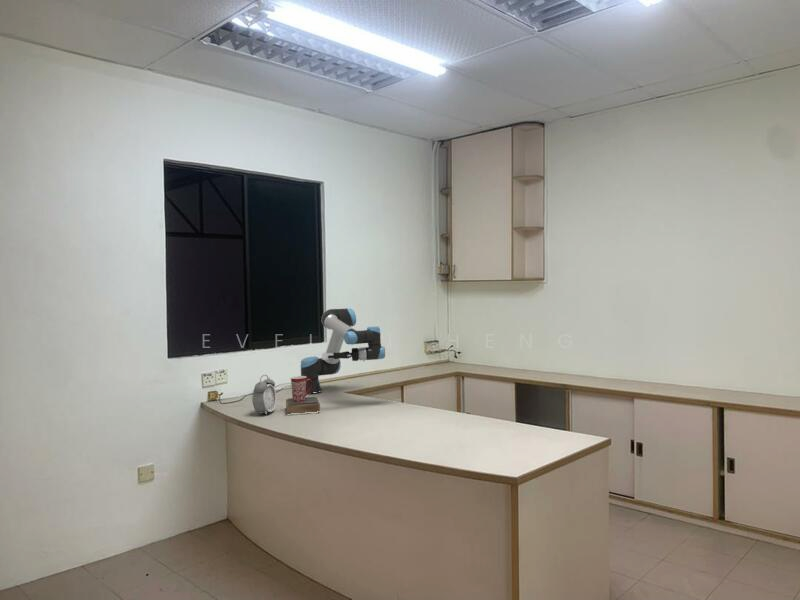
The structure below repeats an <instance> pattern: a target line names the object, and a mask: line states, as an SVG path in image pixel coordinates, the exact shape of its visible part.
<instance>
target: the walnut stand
mask: <svg viewBox="0 0 800 600" xmlns="http://www.w3.org/2000/svg"><path fill="white" fill-rule="evenodd" d="M320 406H321V403H320V401H319V399H318V397H316V396H306V400H305V401H302V402H294V401H293V397H292V398H286V400H285V408H286V409H287V411H286V415H287V414H291V413H305V412H317V411H320V412H321V407H320ZM286 409H285V410H286Z"/></svg>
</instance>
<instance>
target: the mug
mask: <svg viewBox="0 0 800 600" xmlns="http://www.w3.org/2000/svg"><path fill="white" fill-rule="evenodd" d="M308 380H309V381H310V386H309V389H308V390H307V392H306V383H307V381H308ZM290 383H291V384H290V385H291V395H292V398H293V401H294V402H302V401H305V400H306V397H307V396H308V395H309V394H308V393H309V391H310V389H311V387H312V380H311V379H306V376H301V375H296V376H291V377H290Z"/></svg>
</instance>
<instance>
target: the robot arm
mask: <svg viewBox="0 0 800 600" xmlns="http://www.w3.org/2000/svg"><path fill="white" fill-rule="evenodd" d="M320 322H321V325H322V326H323V327H324V328H325V329H327V330H332V332H331V336H330V339H329V343H328V345H327V348H326V351H325V352H324V353H321V358H320V357H318V356H309V357H304V358H302V359H301V361H300V376H306V379H311V380H312V387H311V389H310V391H309V393H313V392H319V391H321V392H322V387H321V383H320V380H319V378H320V377H319V376H329V375H331V376H332V375H334V374H338V373H339V372H340V369H341V364H342V363H341V360H340V359H351V361H352V362H358V361H363V362H365V361H371V360H374V361H375V360H376V361H377V360H382V359H385V358H386V348H385V346H384V345H382V343H381V340H382V339H381V328H380V326H367V329H364V330H356V329H354V328H353V327H354V326H356V324H357V315H356V313H355V310H353V308H330V309H327V310H326V311H324V312H323V313H322V316H321V320H320ZM344 342H345V344H346V345H351V346H352V345H359V344H360V345H361V344H367V347H352V348H351V352H350V351H342V352H341V349H342V346H343V343H344ZM309 386H310V381H309V380H308V381H307V383H306V392H307V390H308V389H309Z"/></svg>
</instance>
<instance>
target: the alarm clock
mask: <svg viewBox="0 0 800 600" xmlns="http://www.w3.org/2000/svg"><path fill="white" fill-rule="evenodd" d="M265 376H266V379H263V381H262V378H263V377H265ZM275 386H276V383H275V381H274V380H273V379H271V378H270V377H269V376H268V375H267V374H263V375H261V377H260V378H259V382H257V383H256V384H255V385H254V388H253V391H252V396H251V397H252V398H251V399H252V406H253V410H254V411H255V412H256V413H260V414H262V413H264V414H266V415H267V413H271V412H272V411H273V412H274V410H275V408H276V405H277V392H276V391H277V390H276V388H275ZM261 412H262V413H261ZM273 412H272V413H273Z"/></svg>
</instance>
